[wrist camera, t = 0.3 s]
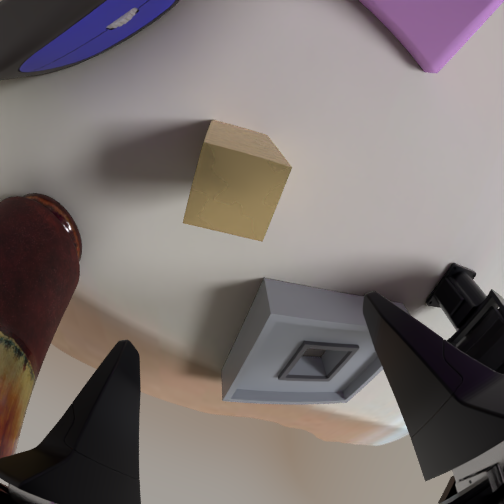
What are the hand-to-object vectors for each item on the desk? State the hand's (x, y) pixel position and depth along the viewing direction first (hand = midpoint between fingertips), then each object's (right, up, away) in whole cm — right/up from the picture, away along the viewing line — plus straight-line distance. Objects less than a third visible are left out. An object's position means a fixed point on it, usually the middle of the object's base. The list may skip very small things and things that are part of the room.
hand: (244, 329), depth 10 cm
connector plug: (-1, +10, +9) cm, 14 cm away
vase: (-19, +4, +11) cm, 23 cm away
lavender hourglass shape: (+12, +29, -2) cm, 31 cm away
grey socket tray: (+7, -8, +22) cm, 25 cm away
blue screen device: (-12, +19, +2) cm, 23 cm away
